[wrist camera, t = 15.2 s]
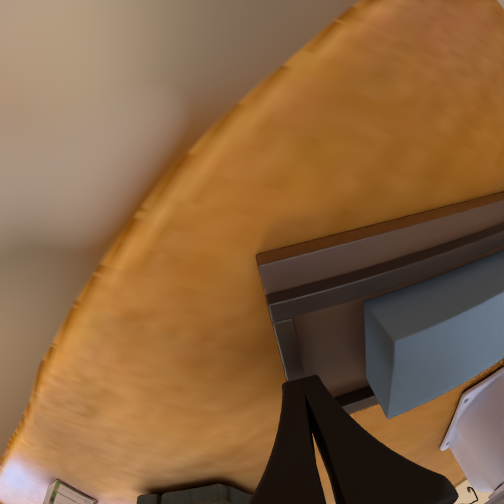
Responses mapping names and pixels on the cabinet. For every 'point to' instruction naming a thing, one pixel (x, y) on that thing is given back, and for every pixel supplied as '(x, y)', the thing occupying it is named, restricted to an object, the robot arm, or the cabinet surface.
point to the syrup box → (65, 495)
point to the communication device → (199, 496)
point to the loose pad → (434, 334)
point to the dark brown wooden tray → (364, 286)
